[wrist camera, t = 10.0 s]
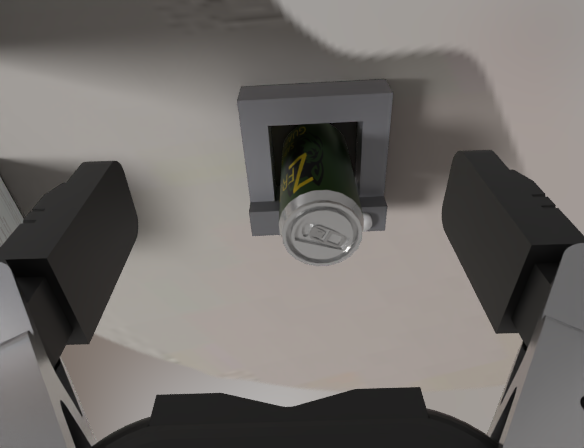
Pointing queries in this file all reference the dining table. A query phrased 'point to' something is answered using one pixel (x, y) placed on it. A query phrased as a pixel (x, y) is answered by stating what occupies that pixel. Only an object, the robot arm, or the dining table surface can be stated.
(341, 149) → the beer can
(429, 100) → the dining table surface
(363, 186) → the grey square frame
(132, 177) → the dining table surface
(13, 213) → the supplement box
